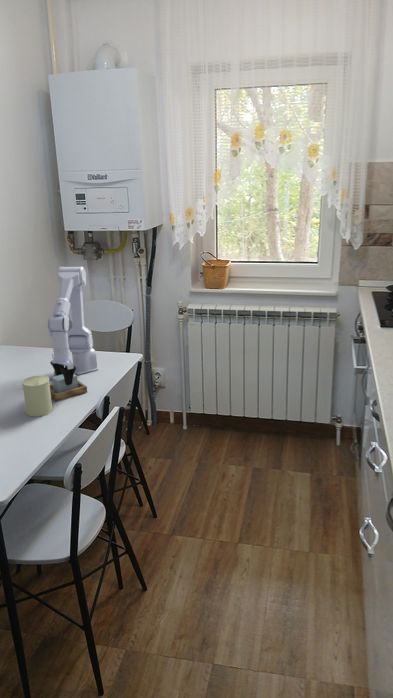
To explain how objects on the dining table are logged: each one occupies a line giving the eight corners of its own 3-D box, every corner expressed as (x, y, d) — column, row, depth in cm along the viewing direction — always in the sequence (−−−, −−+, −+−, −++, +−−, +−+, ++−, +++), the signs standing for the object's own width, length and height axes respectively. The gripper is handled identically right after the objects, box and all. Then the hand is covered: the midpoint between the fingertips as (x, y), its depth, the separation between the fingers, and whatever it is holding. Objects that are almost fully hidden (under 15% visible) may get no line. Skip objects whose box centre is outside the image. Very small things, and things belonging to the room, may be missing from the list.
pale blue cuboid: (72, 386, 211) (71, 372, 209) (78, 390, 207) (77, 375, 205) (53, 391, 207) (51, 377, 205) (58, 396, 203) (57, 381, 201)
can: (28, 418, 187) (24, 386, 183) (23, 408, 194) (19, 377, 190) (55, 412, 191) (52, 381, 187) (49, 403, 198) (45, 372, 194)
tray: (75, 384, 215) (74, 378, 214) (87, 392, 207) (86, 386, 206) (44, 392, 208) (43, 386, 207) (55, 401, 200) (55, 395, 199)
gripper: (43, 344, 204) (47, 378, 209) (58, 355, 193) (62, 390, 198) (60, 341, 208) (64, 373, 213) (77, 350, 197) (80, 385, 202)
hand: (64, 381), depth 206 cm, fingers open, 7 cm apart
